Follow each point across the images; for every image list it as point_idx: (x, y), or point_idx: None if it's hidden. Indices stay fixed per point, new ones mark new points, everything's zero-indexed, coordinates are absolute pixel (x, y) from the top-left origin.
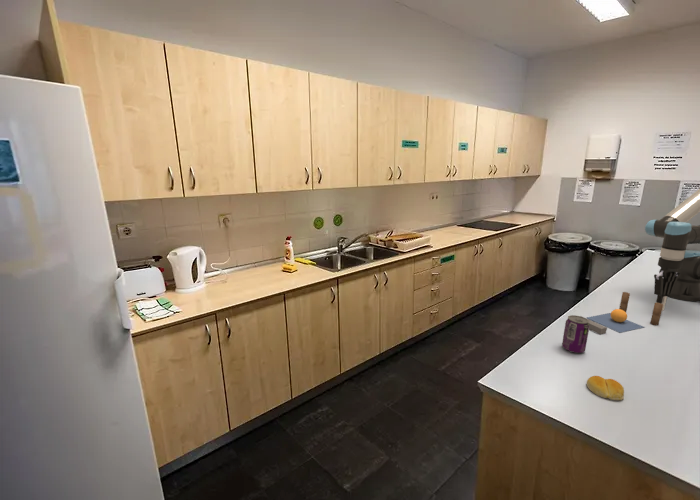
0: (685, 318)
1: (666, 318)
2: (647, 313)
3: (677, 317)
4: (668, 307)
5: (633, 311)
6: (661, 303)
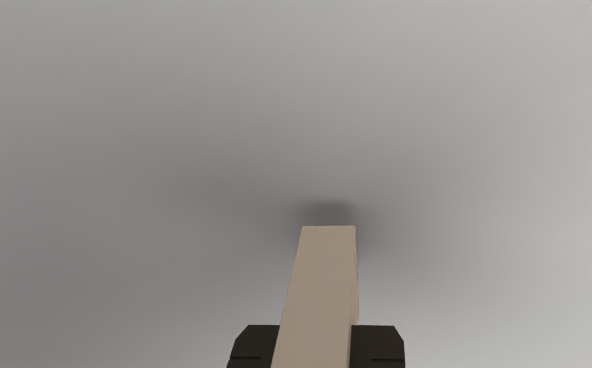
0: (139, 15)
1: (411, 92)
2: (477, 268)
3: (218, 71)
4: (39, 294)
5: (579, 351)
6: (350, 321)
